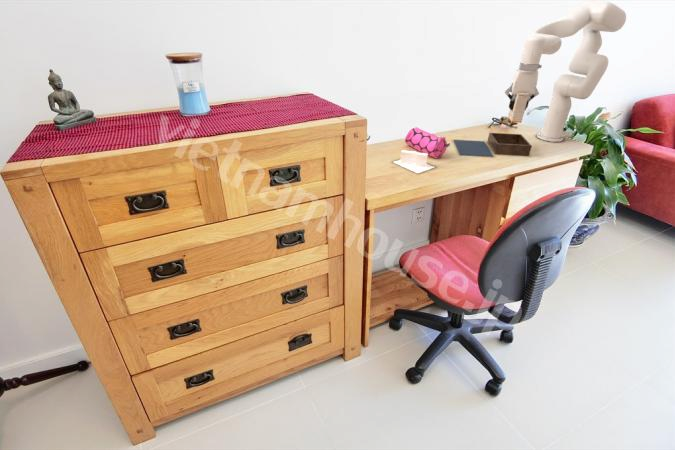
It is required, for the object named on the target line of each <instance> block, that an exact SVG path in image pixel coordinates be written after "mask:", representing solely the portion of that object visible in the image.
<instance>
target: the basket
mask: <svg viewBox="0 0 675 450" xmlns="http://www.w3.org/2000/svg"><path fill="white" fill-rule="evenodd" d="M486 143H487V145H488V146H489V148H490V149H491V151H492V152H493V153H494V155H503V156H523V157H530V154H531V150H532V147H533V146H532V144H531V143H530V142H529V141H528V140H527V139H526V137H524V136H523V134H521V133H505V132H503V133H502V132H488V136H487V141H486Z"/></svg>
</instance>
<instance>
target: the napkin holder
mask: <svg viewBox="0 0 675 450" xmlns="http://www.w3.org/2000/svg"><path fill="white" fill-rule="evenodd" d="M428 156H429V155H428V153H423V152H418V150H417V151H416V150H405V149H401V151H400V157H399V159H398V160H395V161H393V162H392V163H394V164H396V165H398V166H399V167H402V168H405V169H406V170H409V171H411V172H413V173H415V174H421V173H423V172H426V171H429V170H432V169H434V168H435V166H433V165H431V164H428V163H427V161H428Z"/></svg>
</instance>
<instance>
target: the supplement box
mask: <svg viewBox="0 0 675 450" xmlns="http://www.w3.org/2000/svg"><path fill="white" fill-rule="evenodd" d="M528 96H529V93H517V95H516V97H515V99H514V101H515V103H514V107H513V110H511V109H510V108H509V112H508V116H507V118H508V119H509V121H510V123H516V124H517V123H518V124H522V122H523V118H524V115H525V111H526V110H525V107H526V104H527V100H528Z"/></svg>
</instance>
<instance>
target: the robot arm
mask: <svg viewBox="0 0 675 450" xmlns="http://www.w3.org/2000/svg"><path fill="white" fill-rule="evenodd" d="M626 21H627V13H626V12H625V10H624V9H622V8H620V7H619V6H618V5H616V4H615V3H613V2H610V1H593V0H592V1H586V2H583V3H582V4H581V5H579V6H578V7H576V8H575V9H574V10H573V11H572V12H570V13H569V14H567V15H566V16H565V17H563V18H559V19H556V20H554V21H551V22H549V23H545V24H544V25H541V26H540V27H538V28H536V29H535V30H533V32H532V33H531V34H530V35H529V36H527V37H526V39H525V42H524V45H523V49H522V54H521V57H520V61H519V66H518V69H516V70H515V72H514V74H513V77H512V80H511V83H510V86H509V87H508V88H507V89H506V90H505V91H504V94H505V95H506V97H508V99H509V103H508V104H509V105H508V108H509V110H510V109H511V110H513V107H514V103H515V101H514V99H515V97H516V95H517V93H529V96H528V100H527V104H526V107H525V111H527V109H528V107H529V103H530V102H531V101H532V100H533V99H534V98H535V97H537V96H539V94H540V92H539V90H538V88H537V85H538V79H539V69H542V67H543V66H542V64H540V62H541V58H542V55H554V54H556V53H558V51H559V50H560V49H561V47H562V38H568V37H572V36H574V35H576V34H578V32H580V31H581V30H582V33H583V34H582V36H583V37H582V40H581V42H580V45H579V46H578V48H577V49H576V51H575V53H574V55H573V57H572V59H571V60H570V62H569V64H568V71H570V73H573V74H567V73H565V74H561V75H559V76H557V78H556V79H555V80H554V83H553V87H552V88H553V89H552V90H553V91H552V95H551V99H550V104H549V107H548V110H547V113H546V116H545V119H544V122H543V125H542V129H541V131H540V132H537V134H536V137H537V138H538V139H540V140H542V141H545V142H551V143H559V142H563V141H564V137H572V135H573V133H572V132H568V131H565V129H564V128H565V126H566V122H567V119H568V117H569V114H570V112H571V108H572V98H573V99H577V100H586V99H588V98H589V97H591V95H592V94H593V92H594V91H595V89H596V87H597V86H598V85H599V83H600V81H601V80H602V77H603V76H604V74H605V73H606V71H607V69H608V66H609V57H607V56H606V55H604V54H600V53H599V51H600V49H601V47H602V45H603V39H602V34H601V32H606V33H615V32H618V31H619V30H621V29H622V28H623V27H624V25H625V24H626ZM575 74H577V75H575ZM579 75H582V76H579ZM584 76H585V77H584Z"/></svg>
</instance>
